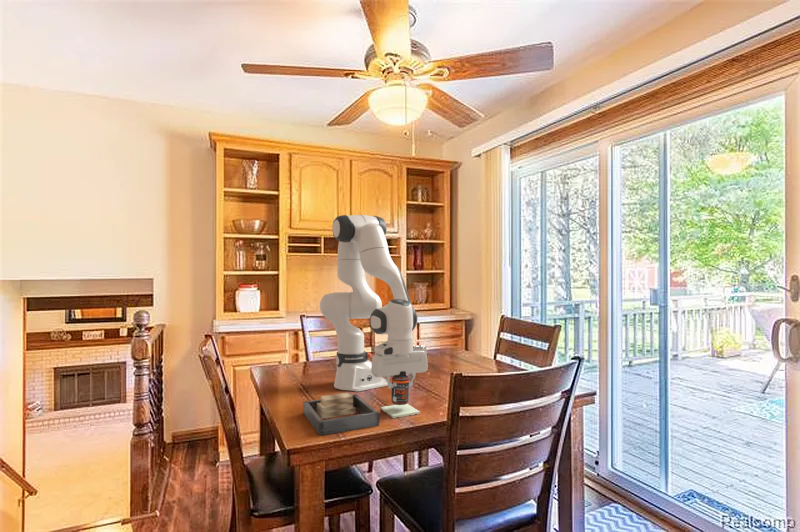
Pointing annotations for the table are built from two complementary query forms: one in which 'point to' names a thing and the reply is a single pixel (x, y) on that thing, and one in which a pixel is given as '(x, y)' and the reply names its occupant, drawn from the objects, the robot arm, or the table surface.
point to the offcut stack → (335, 405)
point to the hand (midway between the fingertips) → (400, 387)
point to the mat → (400, 410)
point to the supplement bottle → (400, 389)
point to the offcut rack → (342, 418)
